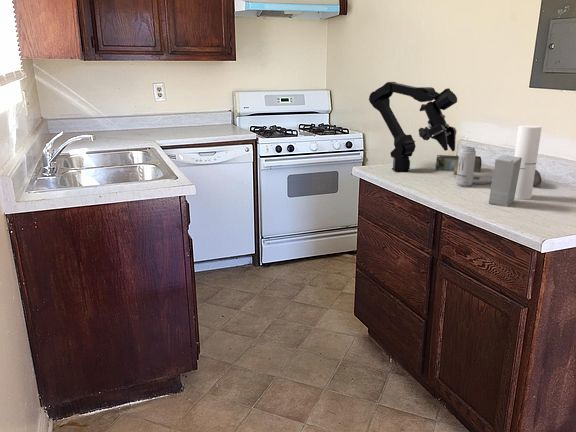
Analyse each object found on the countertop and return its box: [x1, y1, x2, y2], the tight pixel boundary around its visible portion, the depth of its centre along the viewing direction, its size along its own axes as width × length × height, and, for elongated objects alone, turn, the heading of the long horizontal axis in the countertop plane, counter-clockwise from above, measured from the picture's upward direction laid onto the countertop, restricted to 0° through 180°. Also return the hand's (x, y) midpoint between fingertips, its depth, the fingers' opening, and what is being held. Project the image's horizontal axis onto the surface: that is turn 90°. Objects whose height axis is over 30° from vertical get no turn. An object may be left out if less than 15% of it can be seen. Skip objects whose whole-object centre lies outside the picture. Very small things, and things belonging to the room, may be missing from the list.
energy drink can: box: [455, 145, 477, 188], centre depth 187 cm, size 6×6×15 cm
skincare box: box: [488, 154, 522, 207], centre depth 163 cm, size 8×7×16 cm
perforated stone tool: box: [533, 168, 542, 188], centre depth 189 cm, size 15×5×7 cm, turn 1°
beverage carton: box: [435, 154, 483, 173], centre depth 216 cm, size 8×19×7 cm, turn 72°
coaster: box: [472, 176, 492, 186], centre depth 195 cm, size 11×11×1 cm
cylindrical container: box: [513, 124, 542, 201], centre depth 169 cm, size 7×7×25 cm
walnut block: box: [453, 165, 458, 176], centre depth 206 cm, size 4×4×4 cm
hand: (450, 150), depth 194 cm, fingers open, 9 cm apart
